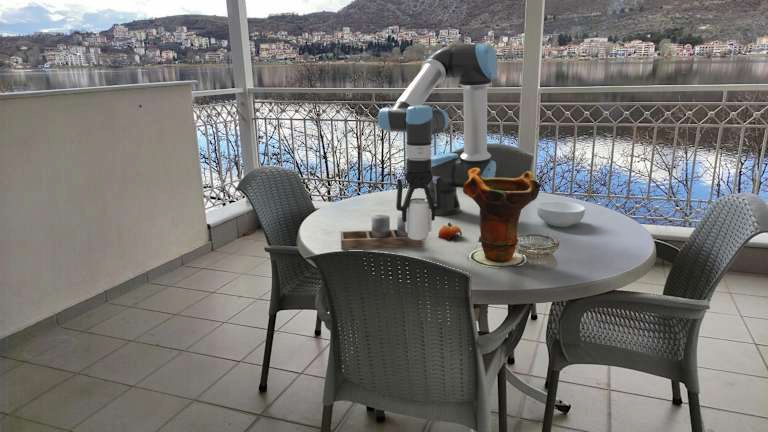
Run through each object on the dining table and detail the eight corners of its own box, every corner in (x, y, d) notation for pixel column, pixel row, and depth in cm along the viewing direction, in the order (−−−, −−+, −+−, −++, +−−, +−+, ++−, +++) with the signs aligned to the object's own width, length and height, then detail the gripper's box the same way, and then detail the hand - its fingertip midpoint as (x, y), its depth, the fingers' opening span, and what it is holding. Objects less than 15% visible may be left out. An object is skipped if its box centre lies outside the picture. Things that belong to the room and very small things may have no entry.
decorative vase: (549, 267, 155) (552, 174, 147) (472, 274, 153) (471, 180, 145) (525, 244, 175) (527, 160, 167) (456, 250, 173) (455, 166, 165)
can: (414, 242, 162) (414, 204, 158) (404, 236, 167) (404, 199, 164) (432, 238, 165) (433, 201, 161) (421, 232, 170) (421, 196, 167)
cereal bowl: (590, 223, 198) (592, 205, 196) (571, 234, 186) (573, 214, 184) (548, 215, 209) (549, 198, 207) (527, 224, 197) (529, 206, 196)
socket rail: (417, 236, 184) (417, 212, 181) (422, 245, 175) (422, 219, 172) (340, 239, 181) (340, 214, 178) (341, 248, 172) (340, 222, 169)
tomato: (465, 230, 186) (460, 219, 180) (463, 247, 182) (458, 236, 177) (443, 231, 189) (437, 220, 184) (441, 248, 185) (435, 237, 180)
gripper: (388, 161, 154) (389, 236, 161) (453, 159, 156) (451, 233, 163) (385, 156, 161) (386, 228, 168) (447, 154, 163) (446, 225, 170)
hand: (418, 230), depth 166 cm, fingers closed on can, 6 cm apart
